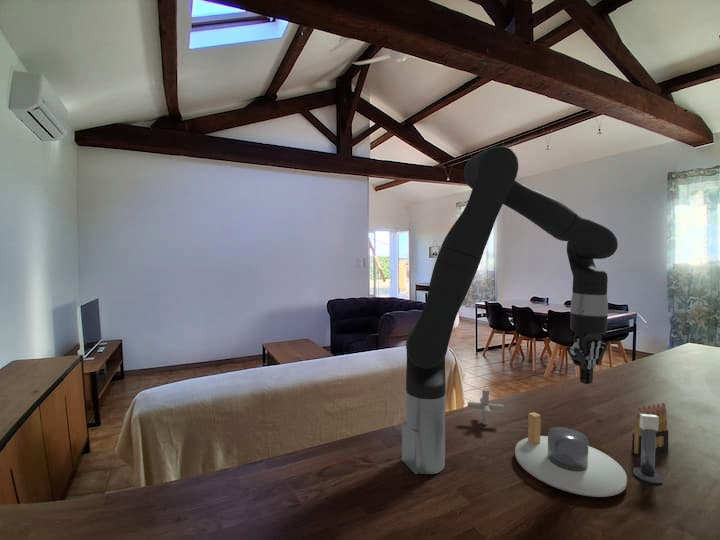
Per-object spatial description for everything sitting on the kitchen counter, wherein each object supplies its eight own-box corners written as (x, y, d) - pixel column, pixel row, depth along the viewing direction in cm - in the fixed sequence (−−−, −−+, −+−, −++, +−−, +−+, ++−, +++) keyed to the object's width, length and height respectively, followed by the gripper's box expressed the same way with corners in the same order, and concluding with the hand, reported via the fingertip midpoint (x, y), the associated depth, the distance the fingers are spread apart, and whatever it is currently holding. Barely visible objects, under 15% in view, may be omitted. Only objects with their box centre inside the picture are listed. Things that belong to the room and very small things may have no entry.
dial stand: (653, 471, 80) (655, 411, 79) (667, 485, 75) (669, 421, 75) (628, 469, 81) (630, 409, 80) (641, 482, 76) (643, 419, 76)
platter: (582, 509, 66) (583, 467, 66) (495, 450, 86) (495, 418, 86) (650, 480, 75) (651, 443, 75) (556, 433, 95) (557, 404, 95)
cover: (571, 475, 75) (572, 447, 75) (539, 455, 82) (540, 430, 82) (596, 466, 78) (596, 440, 78) (563, 448, 85) (563, 424, 85)
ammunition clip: (639, 456, 86) (640, 409, 86) (631, 452, 88) (632, 405, 87) (668, 449, 89) (670, 403, 89) (660, 445, 91) (661, 400, 91)
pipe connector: (506, 433, 97) (507, 398, 97) (469, 429, 99) (470, 395, 99) (499, 417, 107) (500, 385, 107) (466, 414, 109) (466, 382, 109)
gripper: (588, 316, 78) (585, 392, 78) (621, 312, 84) (618, 384, 84) (556, 311, 85) (554, 382, 85) (588, 308, 91) (586, 374, 91)
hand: (586, 382), depth 85 cm, fingers closed
